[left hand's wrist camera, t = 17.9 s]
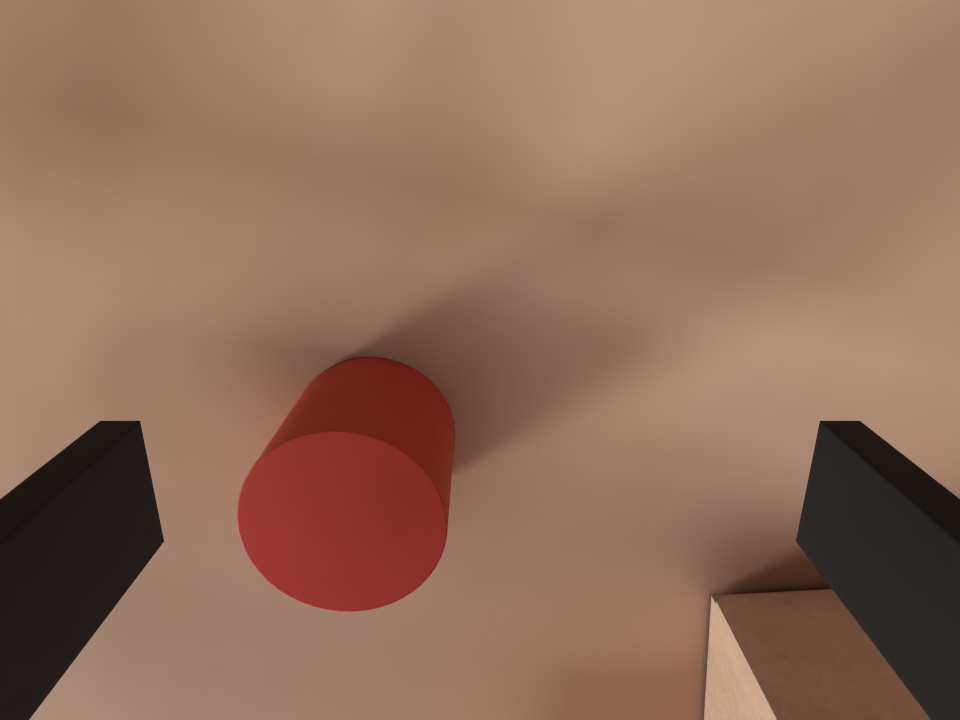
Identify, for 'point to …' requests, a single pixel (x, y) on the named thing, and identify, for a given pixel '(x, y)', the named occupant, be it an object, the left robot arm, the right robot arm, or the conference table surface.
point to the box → (797, 662)
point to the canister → (353, 488)
